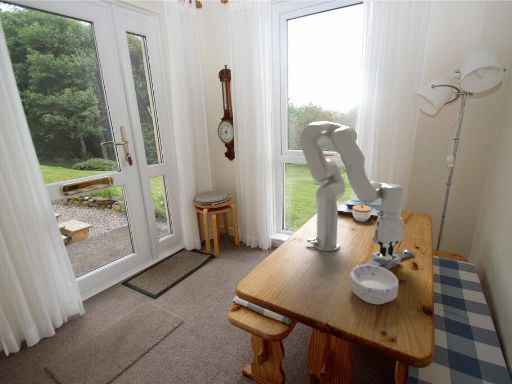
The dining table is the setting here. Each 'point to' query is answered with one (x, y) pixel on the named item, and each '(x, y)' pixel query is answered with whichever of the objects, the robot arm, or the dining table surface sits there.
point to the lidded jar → (361, 212)
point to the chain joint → (391, 263)
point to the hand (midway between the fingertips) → (386, 254)
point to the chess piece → (386, 253)
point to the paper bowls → (374, 284)
